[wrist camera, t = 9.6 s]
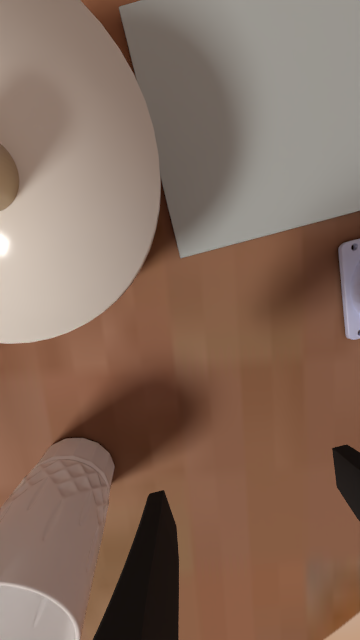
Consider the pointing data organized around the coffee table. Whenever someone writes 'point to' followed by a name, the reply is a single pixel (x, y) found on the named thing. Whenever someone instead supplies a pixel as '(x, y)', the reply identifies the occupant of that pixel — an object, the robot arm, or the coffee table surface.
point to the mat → (250, 112)
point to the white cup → (53, 542)
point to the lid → (69, 170)
